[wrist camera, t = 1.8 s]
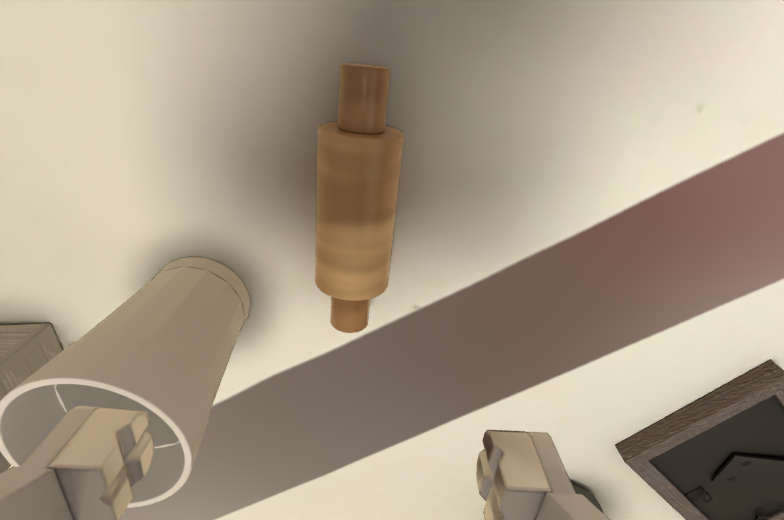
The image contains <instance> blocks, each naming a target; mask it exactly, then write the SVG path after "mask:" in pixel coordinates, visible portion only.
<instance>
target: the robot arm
mask: <svg viewBox="0 0 784 520" xmlns="http://www.w3.org/2000/svg"><path fill="white" fill-rule="evenodd" d="M149 423H150V420H149V416H148V413H147V412H146V411H140V410H128V409H116V408H104V407H88V406H77V407H75V408H73V409H71V410H70V411H69V412H68V413H67V414H66V415H65V416H64V417H63V418H62V420H61V421H60V422H59V423H58V424H57V425H56V426H55V428H54V429H53V430H52V431H51V432H50V433H49V434H48V435H47V437H46V438H45V439H44V440H43V441H42V442H41V443H40V445H39V446H38V447H37V448H36V449H35V450H34V451H33V453H32V454H31V455H30V456H29V457H28V458H27V459H26V460H25V462H24V463H23V464H22V465H21V466H20V467H11V468H9V469H7V470H6V471H4V472H2V473H0V520H120V519H121V517H122V515H123V513H124V512H125V510H126V508H127V506H128V505H129V503H130V501H131V499H132V498H133V492H132V486H133V485H134V484H136V483H137V482H139V481H140V480H141V479H143V478H144V476H145V474H146V473H147V471H148V469H149V467H150V464H151V461H152V458H153V454H154V438H153V435H152V434H151V433H149V432H148V431H147V430H146V428H147V426H148V425H149ZM483 445H484V450H482V451H481V452H480V453H479V456H478V460H477V472H476V475H477V484H478V489H479V494H480V495H481V496H482V497H483V499H484V500H485V501H486V505H485V508H484V512H483V513H484V517H485V520H610V519H609V518H608V517H607V516H605V515H604V514H603V513H602V512H601V511H600V510H599V509H598V508H597V507H596V506H594V505H593V504H592V503H591V502H590V501H589V500H588V499H587V498H586V497H585V496H583V495H582V494H576V493H575V490H574V488H573V486H572V484H571V481H570V479H569V477H568V475H567V472H566V470H565V468H564V465H563V463H562V461H561V459H560V456H559V454H558V452H557V450H556V447H555V445H554V443H553V441H552V438H551V436H550V435H549V434H548V433H541V432H525V431H503V430H487V431H486V432H485V434H484V437H483Z"/></svg>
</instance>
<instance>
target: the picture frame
mask: <svg viewBox="0 0 784 520" xmlns="http://www.w3.org/2000/svg"><path fill="white" fill-rule="evenodd" d="M615 446H616V448H617V449H618V451H619V453H620V455H621V456H622V458H623V460H624V462H625V463H626V464H628V465H629V466H630V467H631V468H632V469H633V470H634V471H635V472H636V473H637V474H638V475H639V476H640V477H641V478H642V479H643V480H644V481H646V482H647V483H648V484H649V485H650V486H651V487H652V488H653V489H654V490H655V491H656V492H657V493H658V494H659V495H660V496H661V497H662V498H663V499H665V500H666V501H667V502H668V503H669V504H670V505H671V506H672V507H673V508H674V509H675V510H676V511H677V512H678V513H679V514H680V515H681V516H683V517H684V518H685V519H686V520H784V370H782V369H781V368H780V367H779V366H777V365H776V364H775V363H774V362H772V361H771V360H770V361H768V362H766V363H764V364H762V365H761V366H759V367H757V368H755V369H753V370H752V371H750V372H748V373H746V374H744V375H742V376H741V377H739V378H737V379H735V380H733V381H732V382H730V383H728V384H726V385H724V386H722V387H721V388H719V389H717V390H715V391H713V392H712V393H710V394H708V395H706V396H704V397H702V398H701V399H699V400H697V401H695V402H693V403H692V404H690V405H688V406H686V407H684V408H682V409H681V410H679V411H677V412H675V413H673V414H672V415H670V416H668V417H666V418H664V419H662V420H661V421H659V422H657V423H655V424H653V425H652V426H650V427H648V428H646V429H644V430H642V431H641V432H639V433H637V434H635V435H633V436H632V437H630V438H628V439H626V440H624V441H622V442H621V443H619V444H617V445H615Z"/></svg>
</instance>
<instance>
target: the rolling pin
mask: <svg viewBox="0 0 784 520" xmlns="http://www.w3.org/2000/svg"><path fill="white" fill-rule="evenodd" d="M389 78H390V68H388V67H383V66H376V65H367V64H357V63H341V64H340V87H339V113H338V122H328V123H324V124H321V125H319V126H318V150H317V207H316V264H315V282H316V285H317V287H318V288H319V289H320V290H321V291H322V292H323V293H325V294H327V295H329V296H331V324H332V326H333V327H334V328H335V329H337V330H339V331H342V332H346V333H354V332H359V331H361V330H363V329H364V328H365V327H366V326H367V325H368V318H369V307H370V299H371V298H374V297H376V296H379V295H380V294H382V293H383V292H384V291H385V290H386V288H387V286H388V279H389V270H390V261H391V251H392V242H393V233H394V223H395V214H396V205H397V196H398V186H399V177H400V168H401V159H402V149H403V140H404V134H403V132H401V131H399V130H397V129H394V128H391V127H387V126H385V124H386V112H387V101H388V90H389Z"/></svg>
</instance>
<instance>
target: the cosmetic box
mask: <svg viewBox="0 0 784 520" xmlns="http://www.w3.org/2000/svg"><path fill="white" fill-rule="evenodd" d="M62 351H63V350H62V348H61V345H60V343H59V341H58V338H57V336H56V334H55V332H54V330H53V327H52V325H51V324H49V323H44V324H24V325H0V401H1V400H2V399H3V398H4V397H5V396H6V395H7V394H8V393H9V392H10V391H12V390H13V389H14V388H16V387H17V386H18V385H19V384H21V383H22V382H23V381H25V380H26V379H27V378H28V377H30V376H31V375H32V374H33V373H35V372H36V371H37V370H39V369H40V368H41V367H42V366H44V365H45V364H46V363H48V362H49V361H50V360H51V359H53V358H54V357H55V356H56V355H58V354H59V353H60V352H62ZM10 466H11V464H10V463H9V462H8V461H7V460H6V458H5V457H4V456H3V454H2V453H1V451H0V473H2V472H4V471H6V470H7V469H8V468H9V467H10Z"/></svg>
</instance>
